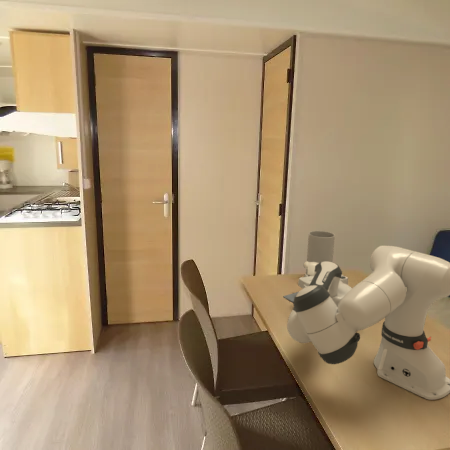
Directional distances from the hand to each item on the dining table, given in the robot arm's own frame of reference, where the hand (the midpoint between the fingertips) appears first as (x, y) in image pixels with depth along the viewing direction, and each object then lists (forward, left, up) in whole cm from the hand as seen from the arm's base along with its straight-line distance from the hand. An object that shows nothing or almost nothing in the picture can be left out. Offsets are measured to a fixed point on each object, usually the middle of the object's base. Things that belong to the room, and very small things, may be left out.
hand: (312, 275), depth 164 cm
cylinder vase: (+13, -19, -12) cm, 26 cm away
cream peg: (+1, 0, -8) cm, 8 cm away
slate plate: (-1, 0, -12) cm, 12 cm away
